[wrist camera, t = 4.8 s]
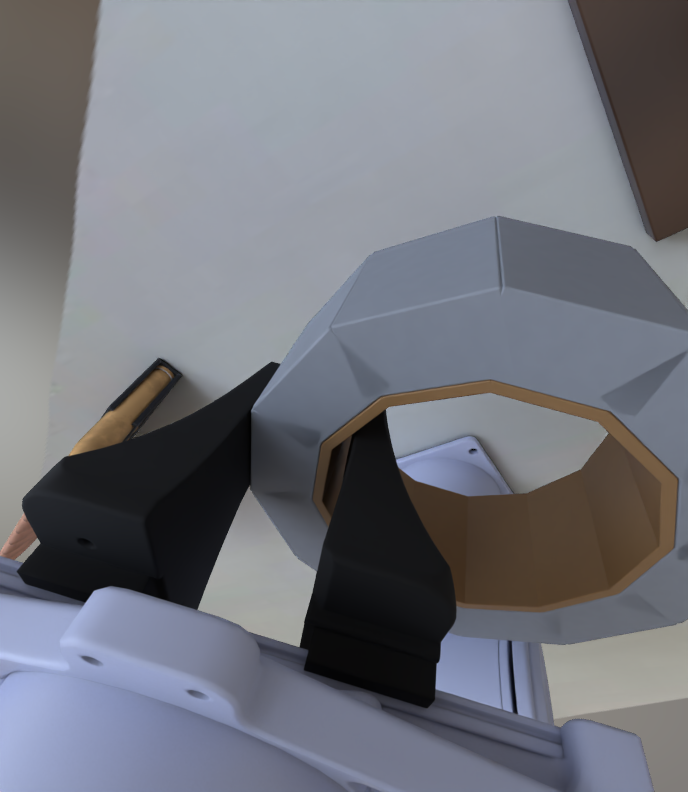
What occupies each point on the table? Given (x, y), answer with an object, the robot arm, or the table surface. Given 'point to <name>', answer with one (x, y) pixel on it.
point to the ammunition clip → (110, 432)
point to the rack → (644, 98)
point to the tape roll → (514, 378)
